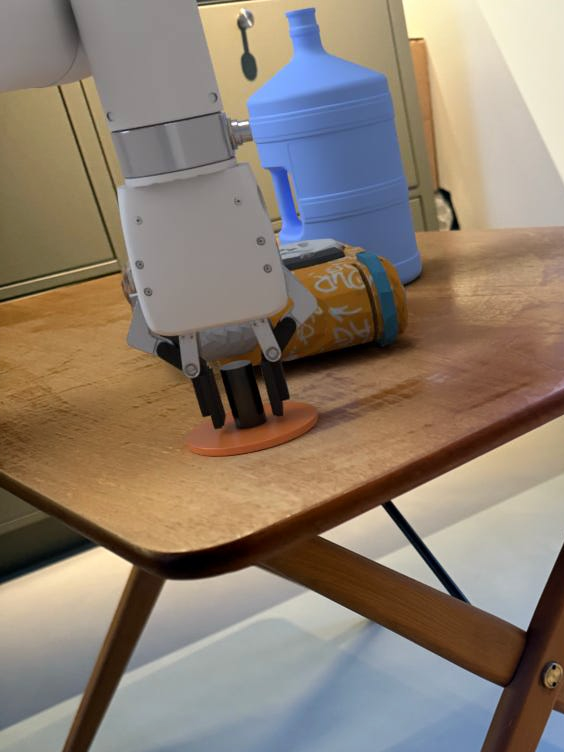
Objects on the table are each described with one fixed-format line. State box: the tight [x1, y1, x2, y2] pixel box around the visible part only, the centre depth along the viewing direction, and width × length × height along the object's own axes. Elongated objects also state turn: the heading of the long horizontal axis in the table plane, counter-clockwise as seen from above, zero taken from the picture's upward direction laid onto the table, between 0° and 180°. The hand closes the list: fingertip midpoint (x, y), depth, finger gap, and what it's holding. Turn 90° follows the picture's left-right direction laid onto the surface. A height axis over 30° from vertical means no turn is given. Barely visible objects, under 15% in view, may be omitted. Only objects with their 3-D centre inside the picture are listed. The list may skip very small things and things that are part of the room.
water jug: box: [246, 6, 423, 286], centre depth 115 cm, size 16×16×28 cm
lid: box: [185, 360, 319, 457], centre depth 78 cm, size 10×10×5 cm
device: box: [130, 239, 409, 368], centre depth 100 cm, size 23×8×30 cm
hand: (249, 414), depth 78 cm, fingers open, 3 cm apart
